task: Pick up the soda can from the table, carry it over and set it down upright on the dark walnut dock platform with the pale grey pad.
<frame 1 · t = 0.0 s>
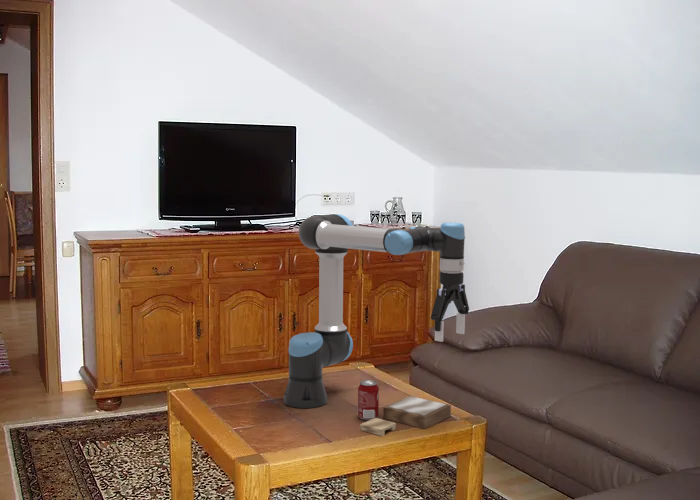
hand: (449, 337, 246), 28 cm above the table, fingers open, 13 cm apart
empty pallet: (378, 429, 241), on the table
dock: (417, 417, 253), on the table
soda can: (368, 418, 252), on the table
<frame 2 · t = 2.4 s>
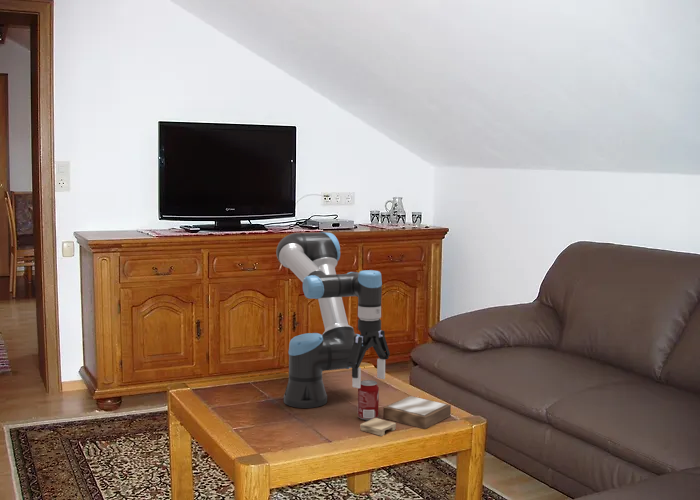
hand: (369, 382, 250), 12 cm above the table, fingers open, 13 cm apart
nothing on the table moved.
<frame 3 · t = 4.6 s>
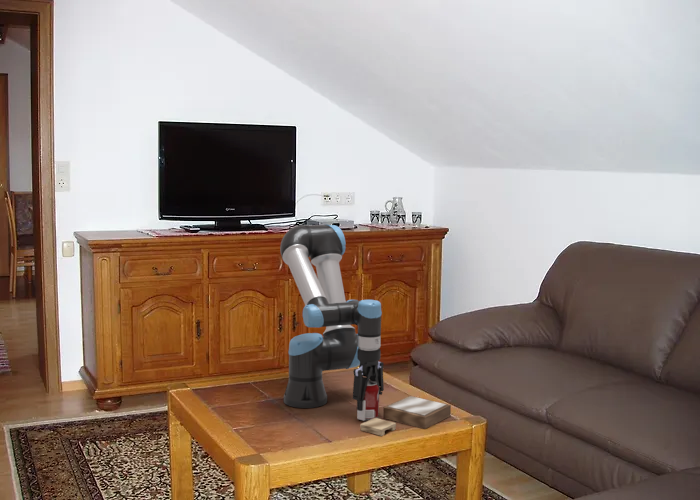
hand: (368, 416, 252), 1 cm above the table, fingers closed on soda can, 7 cm apart
soda can: (368, 418, 252), on the table, touching gripper
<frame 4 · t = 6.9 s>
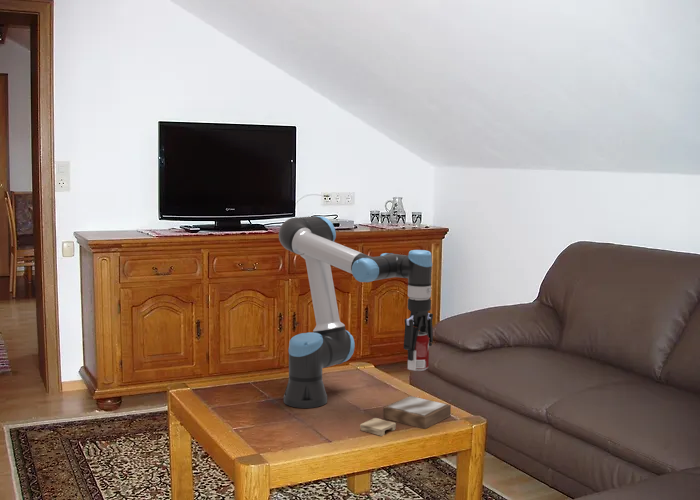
hand: (418, 367, 251), 17 cm above the table, fingers closed on soda can, 7 cm apart
soda can: (418, 369, 251), point 16 cm above the table, touching gripper
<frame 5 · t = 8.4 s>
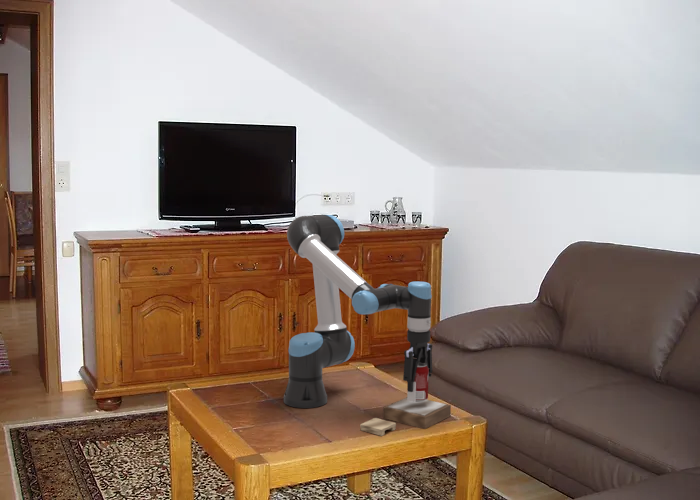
hand: (417, 398, 252), 6 cm above the table, fingers closed on soda can, 7 cm apart
soda can: (417, 400, 252), point 6 cm above the table, touching gripper
when the fingers open (6 cm above the table, at t = 9.2 s): soda can drops 1 cm, resting on dock.
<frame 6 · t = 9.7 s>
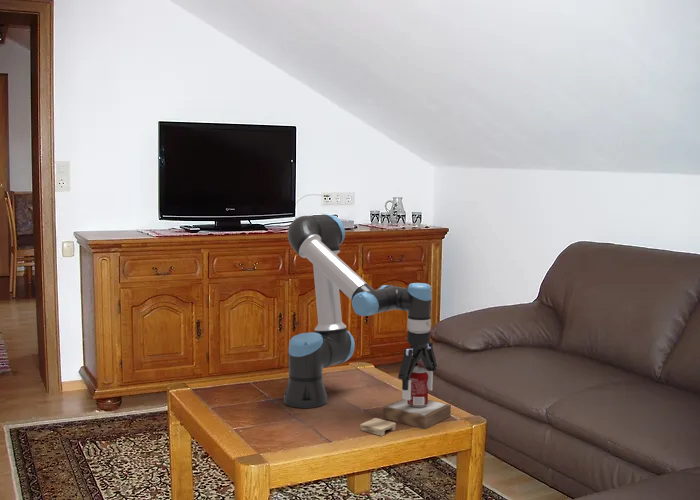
hand: (417, 394, 252), 8 cm above the table, fingers open, 13 cm apart
soda can: (417, 405, 253), point 4 cm above the table, touching dock
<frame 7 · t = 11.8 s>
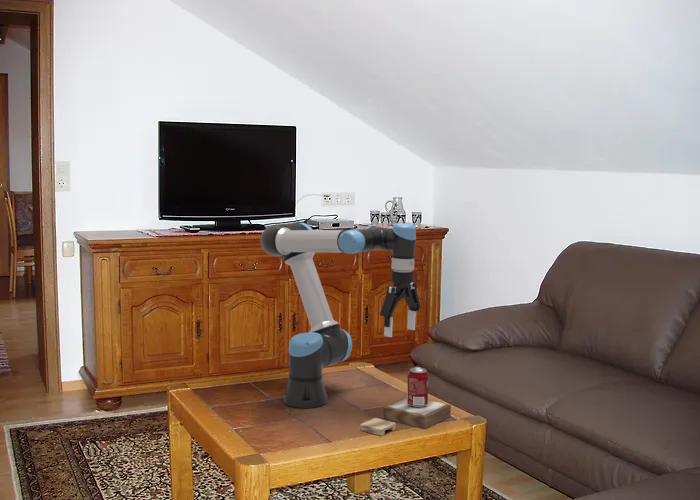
hand: (399, 332, 257), 27 cm above the table, fingers open, 13 cm apart
nothing on the table moved.
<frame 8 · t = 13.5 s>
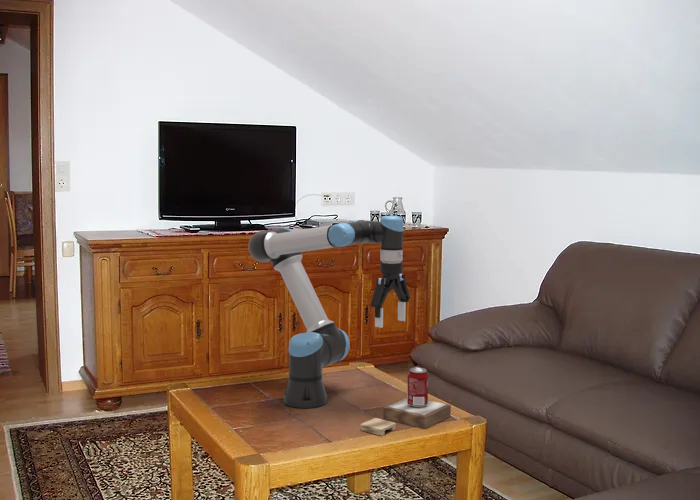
hand: (390, 323, 261), 29 cm above the table, fingers open, 13 cm apart
nothing on the table moved.
at the end: soda can inside the target area on the dock (0.0 cm from its centre), point 3.8 cm above the dock's base; soda can tilted 0°; the gripper is holding nothing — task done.
